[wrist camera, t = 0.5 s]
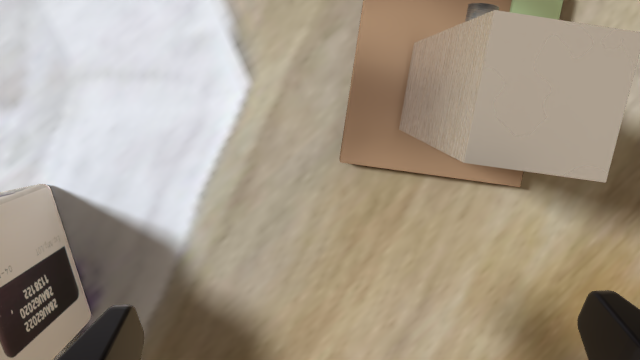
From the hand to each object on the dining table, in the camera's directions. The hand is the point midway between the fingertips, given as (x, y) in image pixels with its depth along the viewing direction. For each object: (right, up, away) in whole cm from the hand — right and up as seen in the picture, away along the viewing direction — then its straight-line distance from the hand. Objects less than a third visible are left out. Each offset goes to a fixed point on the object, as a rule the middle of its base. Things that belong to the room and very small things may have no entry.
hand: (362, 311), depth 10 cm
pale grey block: (+6, +7, +13) cm, 16 cm away
